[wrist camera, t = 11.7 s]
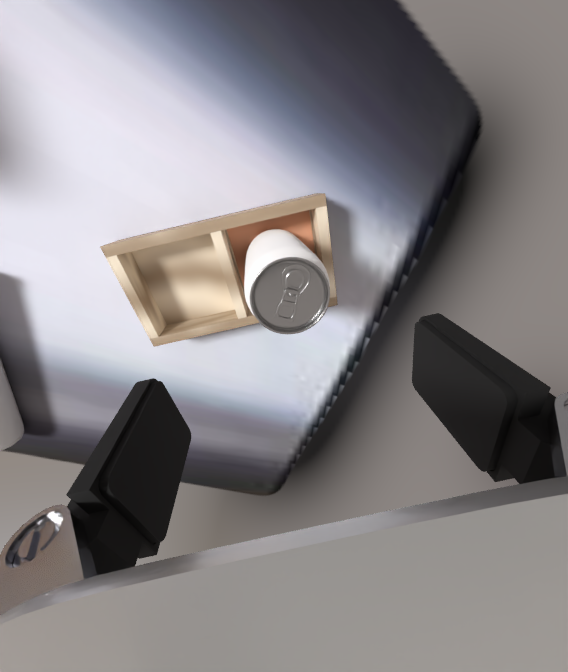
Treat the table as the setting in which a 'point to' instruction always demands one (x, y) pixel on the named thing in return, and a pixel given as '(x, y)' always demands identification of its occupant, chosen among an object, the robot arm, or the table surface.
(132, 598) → the robot arm
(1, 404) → the tube
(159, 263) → the slot rack
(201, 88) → the table surface
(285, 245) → the can
